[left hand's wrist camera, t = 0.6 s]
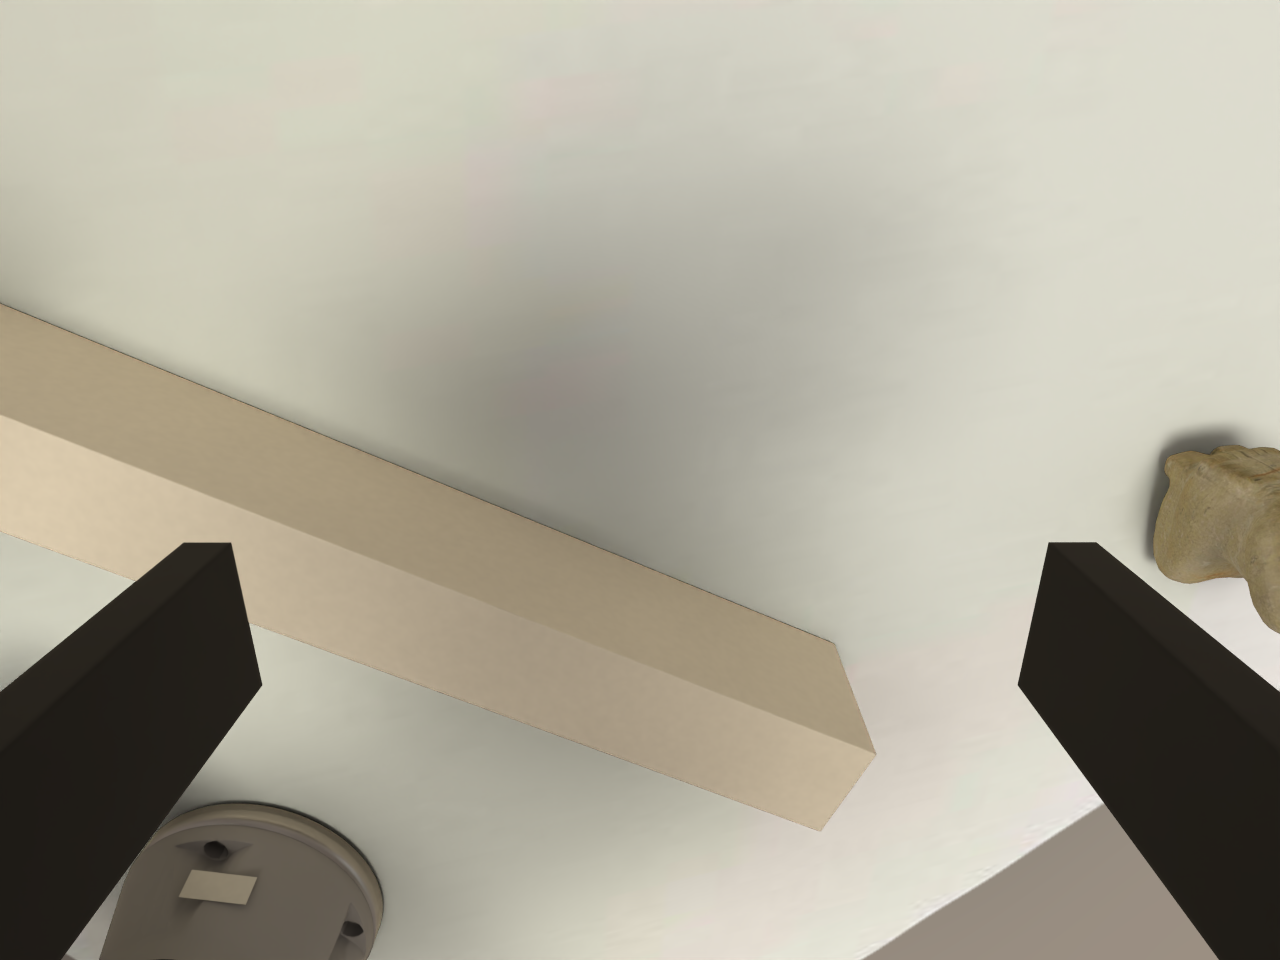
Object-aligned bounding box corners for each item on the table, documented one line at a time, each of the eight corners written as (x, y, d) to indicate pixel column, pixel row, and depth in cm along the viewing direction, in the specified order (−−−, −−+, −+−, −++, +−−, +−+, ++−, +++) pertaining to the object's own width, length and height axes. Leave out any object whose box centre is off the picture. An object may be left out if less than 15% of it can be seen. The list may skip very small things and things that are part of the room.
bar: (834, 643, 42) (877, 754, 34) (790, 711, 44) (820, 832, 36) (-167, 235, 34) (-408, 256, 27) (-172, 337, 36) (-399, 386, 28)
